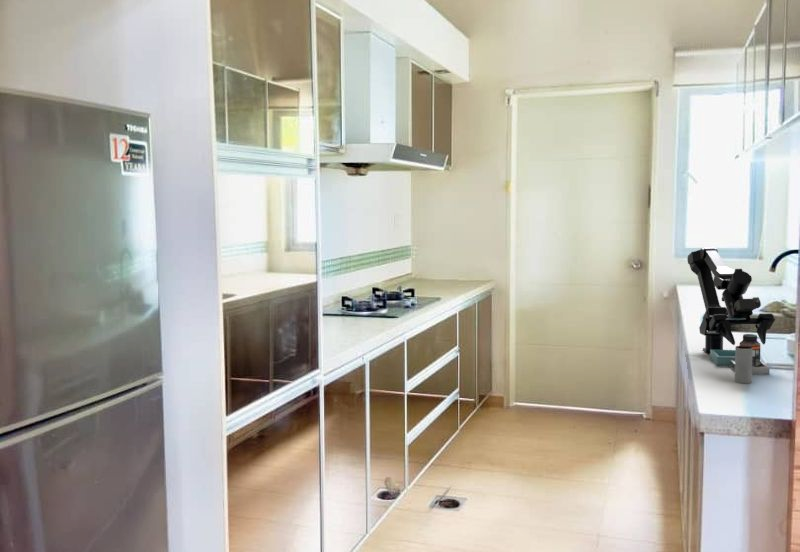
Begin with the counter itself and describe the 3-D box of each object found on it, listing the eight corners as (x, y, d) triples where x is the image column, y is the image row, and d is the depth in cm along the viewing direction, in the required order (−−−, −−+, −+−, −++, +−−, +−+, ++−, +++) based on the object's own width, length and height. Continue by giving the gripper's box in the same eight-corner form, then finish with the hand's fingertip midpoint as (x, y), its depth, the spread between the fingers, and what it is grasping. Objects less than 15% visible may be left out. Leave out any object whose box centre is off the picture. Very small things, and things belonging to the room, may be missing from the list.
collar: (730, 367, 237) (730, 360, 236) (761, 367, 235) (761, 360, 234) (736, 373, 228) (737, 366, 227) (769, 374, 226) (769, 367, 225)
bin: (710, 358, 250) (710, 349, 249) (747, 359, 247) (747, 350, 247) (717, 366, 238) (717, 356, 238) (756, 366, 236) (756, 357, 236)
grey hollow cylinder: (732, 379, 220) (732, 345, 219) (747, 379, 220) (748, 345, 219) (738, 383, 216) (739, 348, 215) (754, 383, 216) (755, 348, 215)
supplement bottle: (741, 367, 235) (742, 332, 234) (762, 370, 231) (763, 334, 230) (736, 371, 231) (737, 335, 230) (757, 373, 227) (758, 337, 226)
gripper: (712, 289, 235) (726, 329, 225) (773, 287, 234) (789, 328, 224) (703, 310, 243) (715, 350, 234) (761, 309, 243) (776, 349, 233)
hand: (749, 344), depth 231 cm, fingers open, 9 cm apart
